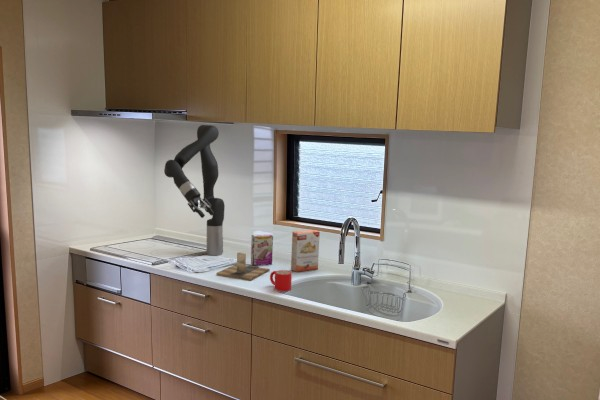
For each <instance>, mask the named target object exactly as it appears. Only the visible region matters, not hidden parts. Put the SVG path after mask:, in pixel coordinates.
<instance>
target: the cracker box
mask: <svg viewBox="0 0 600 400" xmlns="http://www.w3.org/2000/svg"><path fill="white" fill-rule="evenodd" d="M291 233H292V235H291V260H290V261H291V262H290V263H291V264H290V270H292V271H294V272H296V273H298V272H306V271H314V270H318V269H319V256H320V255H319V254H320V252H319V251H320V250H319V249H320V248H319V247H320V234H321V233H320V231H319V230H315V229H309V230H297V231H296V230H295V231H294V230H293V231H292V232H291Z"/></svg>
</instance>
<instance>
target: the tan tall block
mask: <svg viewBox="0 0 600 400" xmlns="http://www.w3.org/2000/svg"><path fill="white" fill-rule="evenodd" d="M246 260H247V253H246V252H245V251H243V252H241V251H239V252H237V255H236V264H237V273H239V274H244V273H245V271H246V263H247V262H246Z"/></svg>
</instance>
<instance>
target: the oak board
mask: <svg viewBox="0 0 600 400" xmlns="http://www.w3.org/2000/svg"><path fill="white" fill-rule="evenodd" d="M269 272H270V268H266V267H260V266H257V265H255V266H253V265H246V271H245V273H244V274H239V273H237V263H235V264H234V265H231V266H229V267H227V268H224V269H222V270H220V271H218V272H216V276H217V277H219V276H220V277H225V278H232V279H237V280H238V279H239V280H244V281H250V282H251V281H253V280H254V281H255V279H257V278H259V277H261V276H264V275H265V274H267V273H269Z"/></svg>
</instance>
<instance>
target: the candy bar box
mask: <svg viewBox="0 0 600 400" xmlns="http://www.w3.org/2000/svg"><path fill="white" fill-rule="evenodd" d="M273 244H274V236H273V235H272V234H271V233H270V234H269V233H268V234H267V233H266V234H251V247H250V249H251V251H250V264H251V266H269V265H273V247H274V246H273Z"/></svg>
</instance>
